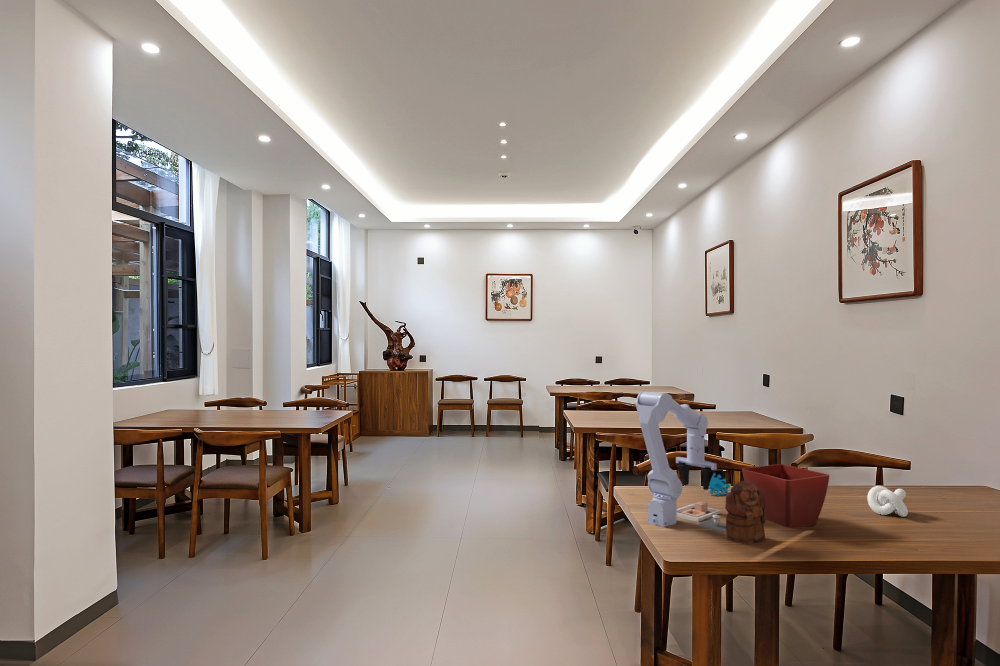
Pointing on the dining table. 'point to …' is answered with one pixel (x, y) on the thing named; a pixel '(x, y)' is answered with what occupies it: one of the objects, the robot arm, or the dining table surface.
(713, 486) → the gear
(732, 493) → the wooden figurine
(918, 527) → the dining table surface
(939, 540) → the dining table surface
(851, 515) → the dining table surface
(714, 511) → the tray
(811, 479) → the plant pot
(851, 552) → the dining table surface
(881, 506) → the white knot sculpture
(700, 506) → the ring
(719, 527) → the grey plate with knob
